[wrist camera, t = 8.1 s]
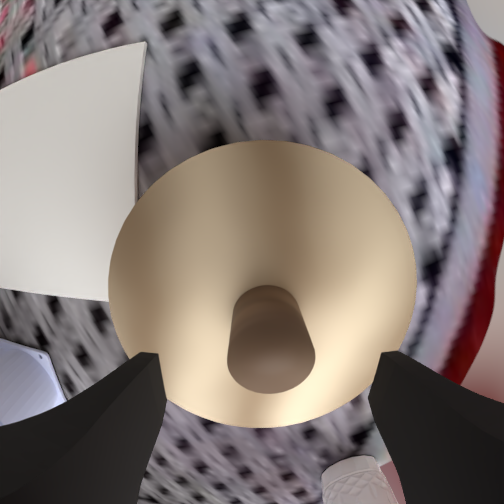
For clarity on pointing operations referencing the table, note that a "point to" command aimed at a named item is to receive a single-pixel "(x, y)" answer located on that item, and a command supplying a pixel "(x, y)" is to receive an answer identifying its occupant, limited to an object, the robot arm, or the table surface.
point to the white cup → (356, 483)
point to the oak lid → (263, 282)
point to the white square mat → (69, 171)
